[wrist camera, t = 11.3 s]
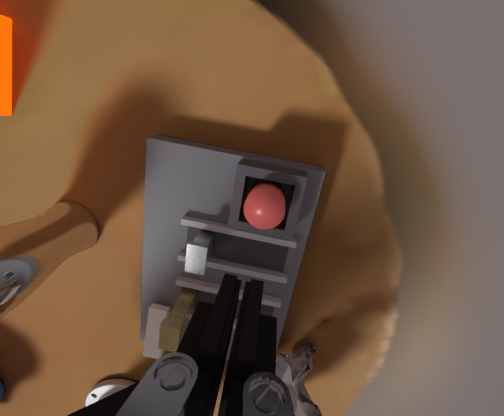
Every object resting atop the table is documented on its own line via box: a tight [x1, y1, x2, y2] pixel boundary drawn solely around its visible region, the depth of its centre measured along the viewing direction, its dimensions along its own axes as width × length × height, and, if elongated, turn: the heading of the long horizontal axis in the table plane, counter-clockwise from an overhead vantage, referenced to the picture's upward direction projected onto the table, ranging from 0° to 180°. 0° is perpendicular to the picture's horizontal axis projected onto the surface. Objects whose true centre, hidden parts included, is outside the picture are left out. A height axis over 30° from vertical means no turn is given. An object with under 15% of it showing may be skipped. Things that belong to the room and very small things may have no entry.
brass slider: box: [158, 288, 197, 352], centre depth 27 cm, size 3×2×6 cm, turn 170°
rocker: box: [143, 303, 170, 359], centre depth 30 cm, size 6×2×1 cm, turn 170°
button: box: [244, 179, 285, 229], centre depth 23 cm, size 3×3×4 cm
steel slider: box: [184, 231, 214, 275], centre depth 25 cm, size 3×2×3 cm, turn 170°
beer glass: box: [0, 201, 99, 319], centre depth 24 cm, size 7×7×15 cm
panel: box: [140, 135, 326, 361], centre depth 28 cm, size 24×16×5 cm, turn 170°
